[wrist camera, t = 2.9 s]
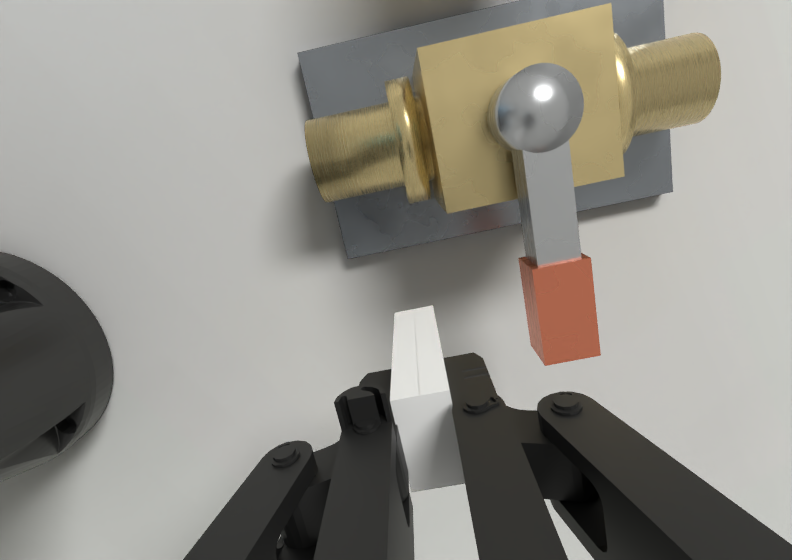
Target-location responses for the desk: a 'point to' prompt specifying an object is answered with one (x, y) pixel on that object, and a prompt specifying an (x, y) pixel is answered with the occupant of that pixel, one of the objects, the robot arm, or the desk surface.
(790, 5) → the desk surface
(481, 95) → the valve block
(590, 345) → the lever
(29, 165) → the desk surface
